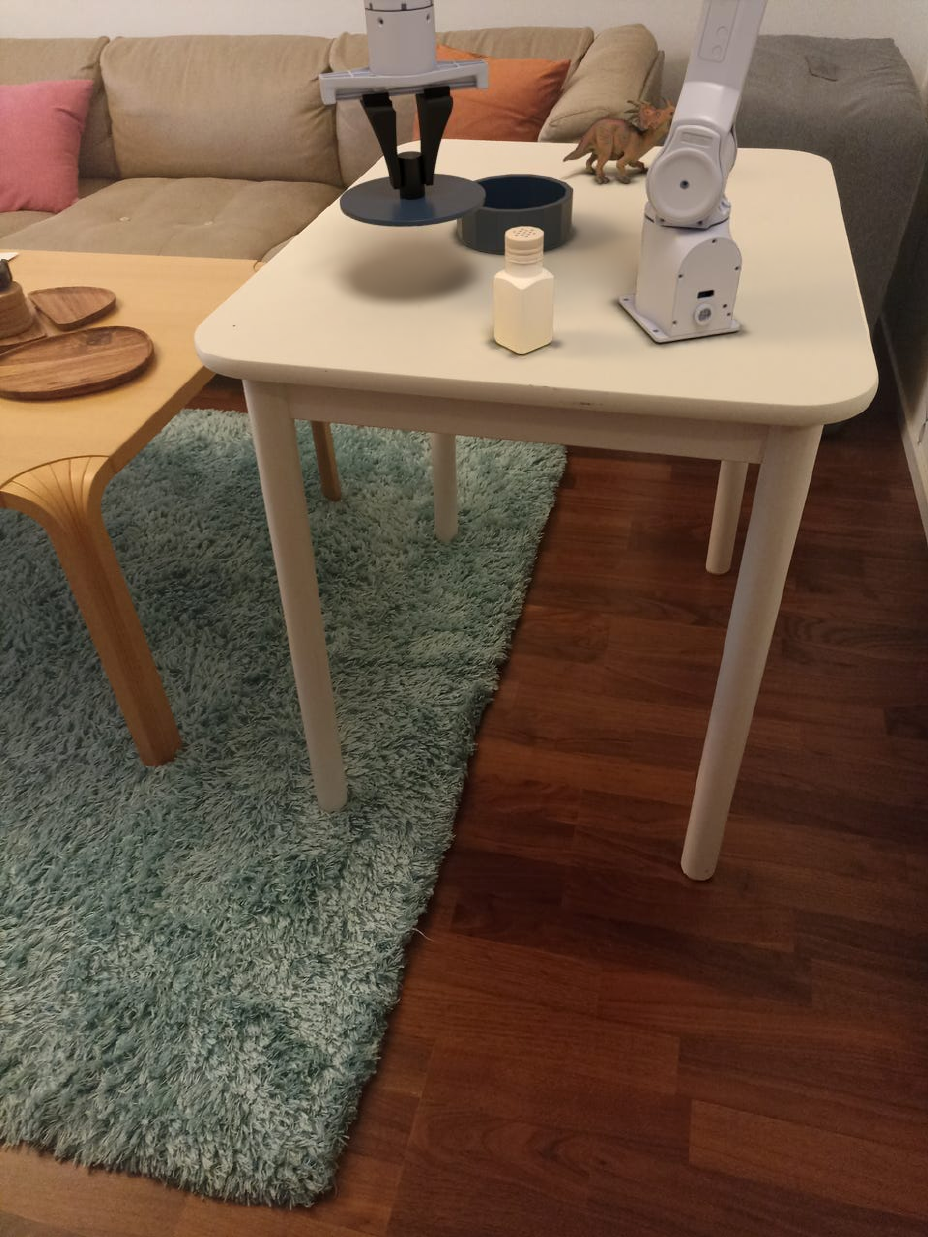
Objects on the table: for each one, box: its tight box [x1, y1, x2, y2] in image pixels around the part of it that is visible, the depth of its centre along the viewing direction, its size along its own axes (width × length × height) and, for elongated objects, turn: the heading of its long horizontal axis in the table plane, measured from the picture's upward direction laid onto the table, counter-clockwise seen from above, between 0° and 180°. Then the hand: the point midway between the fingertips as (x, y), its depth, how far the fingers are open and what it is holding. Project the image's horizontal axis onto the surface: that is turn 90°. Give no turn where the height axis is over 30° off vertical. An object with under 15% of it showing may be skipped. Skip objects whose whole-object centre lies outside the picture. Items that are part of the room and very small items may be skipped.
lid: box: [339, 150, 486, 228], centre depth 79 cm, size 14×14×5 cm
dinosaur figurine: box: [562, 95, 676, 185], centre depth 106 cm, size 14×6×9 cm, turn 82°
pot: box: [456, 173, 574, 255], centre depth 95 cm, size 13×13×4 cm
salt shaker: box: [493, 227, 555, 355], centre depth 73 cm, size 4×4×10 cm
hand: (412, 184), depth 79 cm, fingers closed on lid, 2 cm apart
